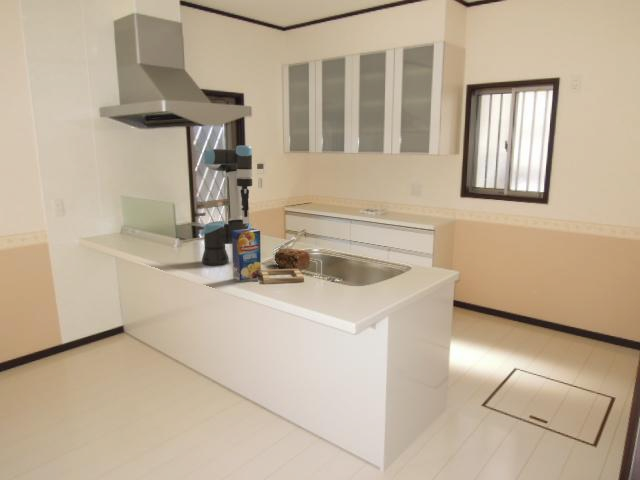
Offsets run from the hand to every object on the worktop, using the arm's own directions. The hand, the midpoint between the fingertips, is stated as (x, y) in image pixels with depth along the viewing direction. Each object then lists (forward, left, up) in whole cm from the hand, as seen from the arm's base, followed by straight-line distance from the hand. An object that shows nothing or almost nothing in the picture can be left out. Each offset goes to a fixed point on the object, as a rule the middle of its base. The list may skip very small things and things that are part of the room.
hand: (245, 221), depth 226 cm
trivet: (0, 0, -30) cm, 30 cm away
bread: (-20, +26, -30) cm, 45 cm away
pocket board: (+1, +18, -30) cm, 35 cm away
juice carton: (0, 0, -29) cm, 29 cm away
